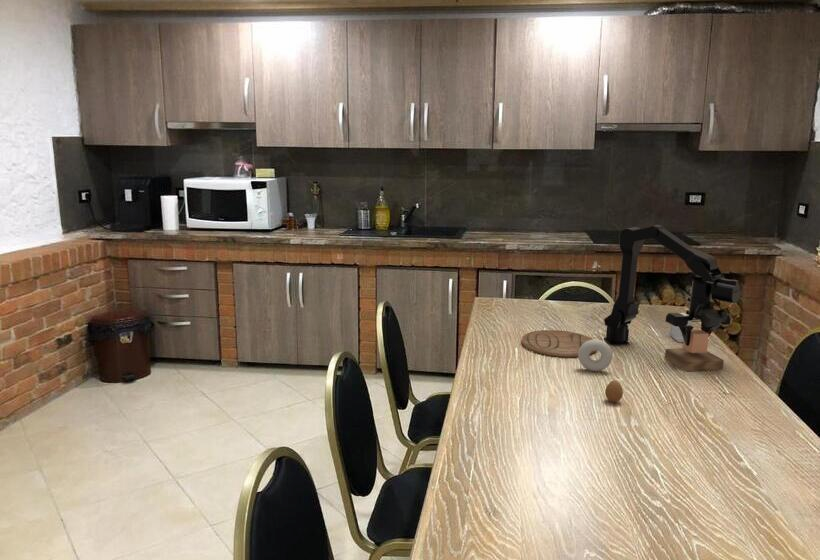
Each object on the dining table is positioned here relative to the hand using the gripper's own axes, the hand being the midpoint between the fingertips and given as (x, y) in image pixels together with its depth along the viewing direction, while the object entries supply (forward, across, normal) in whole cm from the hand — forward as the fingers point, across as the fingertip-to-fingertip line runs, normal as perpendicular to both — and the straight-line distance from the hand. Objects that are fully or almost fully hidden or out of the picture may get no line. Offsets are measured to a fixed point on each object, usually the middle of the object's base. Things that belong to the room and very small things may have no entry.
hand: (695, 345), depth 197 cm
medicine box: (+6, +10, +23) cm, 26 cm away
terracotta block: (+2, 0, 0) cm, 2 cm away
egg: (+6, -39, -24) cm, 46 cm away
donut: (+6, -34, -2) cm, 35 cm away
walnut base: (+6, 0, 0) cm, 6 cm away
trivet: (+7, -35, +22) cm, 42 cm away
